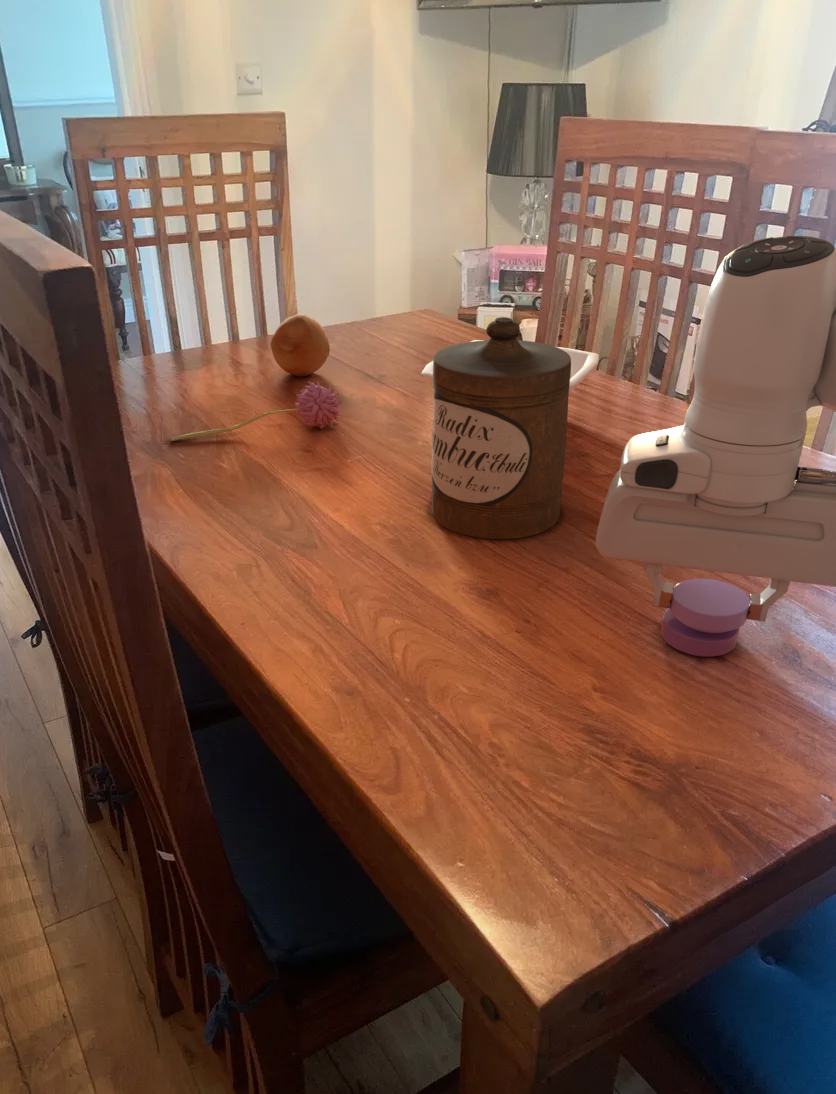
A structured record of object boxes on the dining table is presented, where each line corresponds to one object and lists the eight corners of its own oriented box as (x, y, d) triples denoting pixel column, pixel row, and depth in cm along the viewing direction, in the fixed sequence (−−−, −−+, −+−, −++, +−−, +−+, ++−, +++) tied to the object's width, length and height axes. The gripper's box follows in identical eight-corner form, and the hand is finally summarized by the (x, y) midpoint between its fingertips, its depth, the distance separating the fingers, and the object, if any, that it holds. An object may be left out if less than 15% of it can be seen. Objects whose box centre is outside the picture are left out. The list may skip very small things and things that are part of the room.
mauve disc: (734, 628, 79) (739, 608, 77) (735, 667, 73) (740, 646, 72) (662, 617, 80) (665, 597, 79) (657, 654, 75) (661, 634, 74)
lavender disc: (744, 604, 77) (749, 583, 76) (746, 642, 72) (751, 621, 71) (670, 593, 79) (673, 573, 78) (666, 630, 74) (670, 609, 73)
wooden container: (405, 514, 100) (404, 320, 89) (484, 477, 109) (492, 297, 98) (507, 554, 91) (520, 345, 80) (584, 510, 100) (606, 316, 89)
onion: (273, 367, 153) (268, 309, 148) (329, 365, 154) (326, 307, 149) (272, 383, 145) (267, 323, 140) (331, 381, 145) (329, 320, 140)
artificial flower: (180, 471, 119) (352, 426, 123) (164, 422, 117) (341, 377, 121) (178, 462, 125) (342, 419, 129) (164, 415, 123) (331, 372, 127)
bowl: (603, 407, 132) (609, 351, 128) (557, 457, 115) (563, 395, 110) (469, 388, 141) (471, 336, 136) (408, 433, 123) (408, 374, 119)
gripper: (877, 459, 68) (834, 610, 75) (610, 436, 73) (594, 577, 80) (890, 491, 62) (842, 649, 70) (602, 463, 68) (585, 611, 75)
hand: (707, 610), depth 75 cm, fingers closed on lavender disc, 6 cm apart
